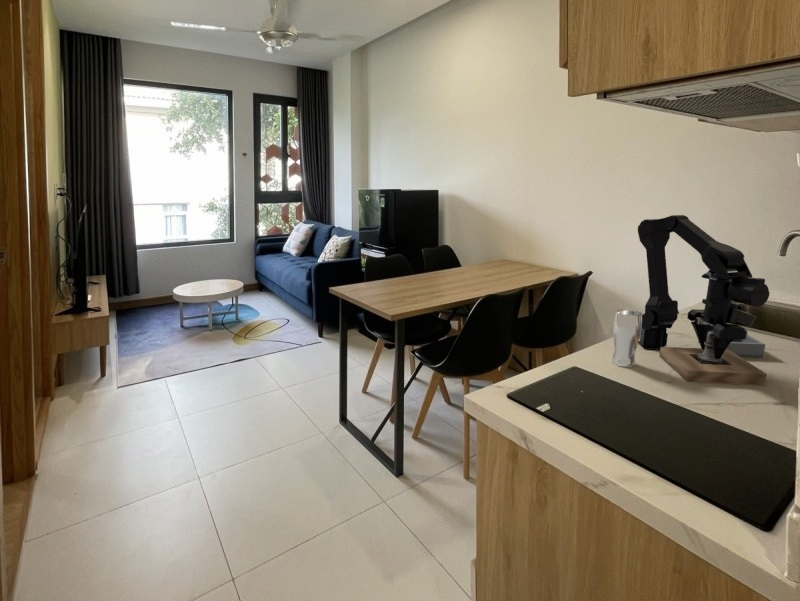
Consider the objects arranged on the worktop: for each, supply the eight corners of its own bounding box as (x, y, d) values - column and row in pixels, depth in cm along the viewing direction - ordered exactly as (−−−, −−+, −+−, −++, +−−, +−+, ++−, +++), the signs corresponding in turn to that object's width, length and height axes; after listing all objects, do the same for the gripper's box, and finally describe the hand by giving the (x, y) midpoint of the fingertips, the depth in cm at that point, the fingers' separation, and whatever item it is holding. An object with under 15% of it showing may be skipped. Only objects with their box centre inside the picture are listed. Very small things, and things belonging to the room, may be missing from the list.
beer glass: (631, 370, 124) (637, 317, 121) (605, 363, 129) (611, 312, 126) (641, 363, 129) (647, 312, 125) (615, 357, 134) (621, 307, 130)
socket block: (686, 381, 117) (688, 370, 116) (659, 356, 134) (660, 346, 133) (765, 385, 114) (767, 374, 113) (726, 359, 131) (728, 349, 130)
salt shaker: (698, 372, 122) (705, 330, 119) (692, 364, 127) (698, 323, 125) (724, 375, 120) (731, 331, 117) (716, 367, 126) (723, 325, 123)
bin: (717, 355, 134) (719, 342, 133) (698, 342, 146) (700, 330, 145) (762, 357, 132) (765, 344, 131) (739, 343, 144) (741, 331, 143)
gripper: (776, 307, 109) (764, 368, 113) (733, 290, 127) (725, 343, 130) (725, 306, 111) (715, 366, 114) (690, 289, 128) (682, 342, 132)
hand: (710, 354), depth 123 cm, fingers open, 7 cm apart
